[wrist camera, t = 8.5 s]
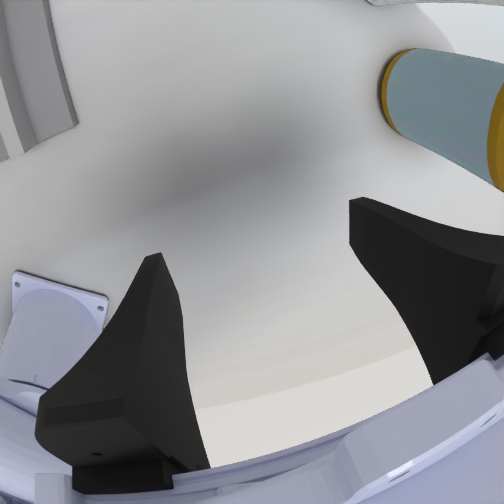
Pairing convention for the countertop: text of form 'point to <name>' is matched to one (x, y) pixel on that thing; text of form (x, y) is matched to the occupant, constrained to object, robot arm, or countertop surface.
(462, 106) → the bottle
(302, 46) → the countertop surface
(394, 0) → the syrup box
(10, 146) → the rail
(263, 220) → the countertop surface
